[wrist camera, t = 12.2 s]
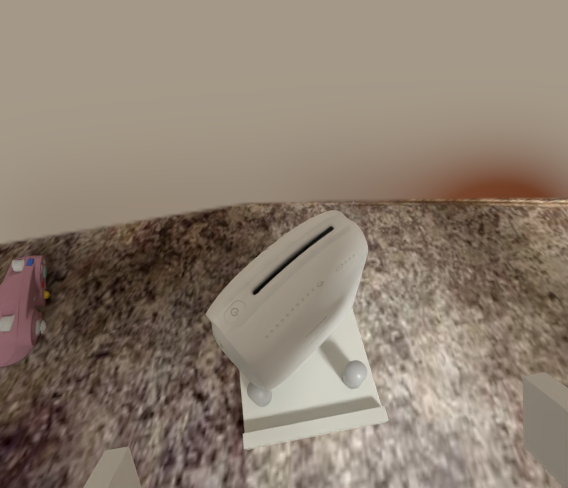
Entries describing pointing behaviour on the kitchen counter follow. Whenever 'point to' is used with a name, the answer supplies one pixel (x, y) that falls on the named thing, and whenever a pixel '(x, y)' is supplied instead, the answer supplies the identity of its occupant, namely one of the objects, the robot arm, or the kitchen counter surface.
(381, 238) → the kitchen counter surface
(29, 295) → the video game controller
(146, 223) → the kitchen counter surface
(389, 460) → the kitchen counter surface
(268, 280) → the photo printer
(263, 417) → the white pegged stand
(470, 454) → the kitchen counter surface
